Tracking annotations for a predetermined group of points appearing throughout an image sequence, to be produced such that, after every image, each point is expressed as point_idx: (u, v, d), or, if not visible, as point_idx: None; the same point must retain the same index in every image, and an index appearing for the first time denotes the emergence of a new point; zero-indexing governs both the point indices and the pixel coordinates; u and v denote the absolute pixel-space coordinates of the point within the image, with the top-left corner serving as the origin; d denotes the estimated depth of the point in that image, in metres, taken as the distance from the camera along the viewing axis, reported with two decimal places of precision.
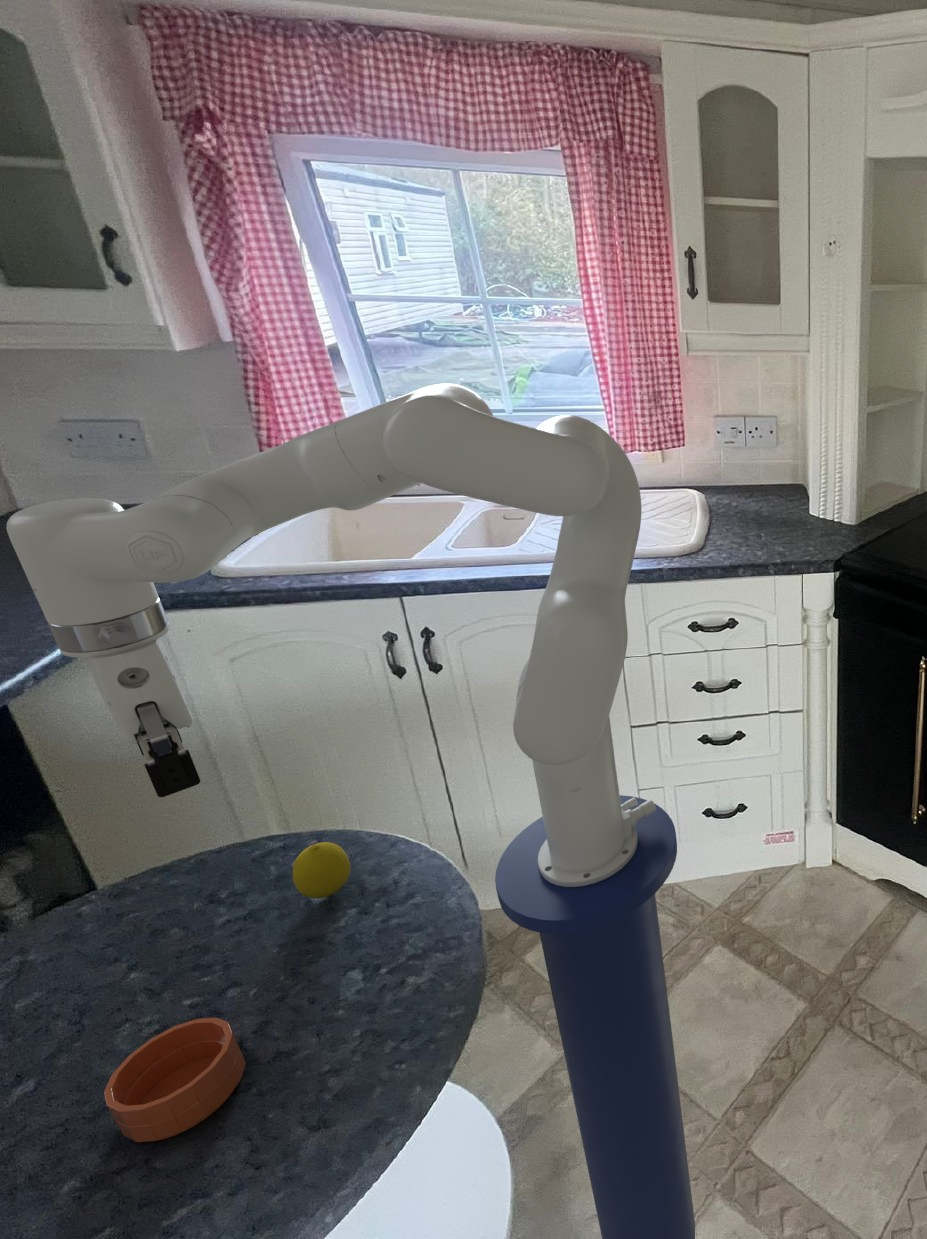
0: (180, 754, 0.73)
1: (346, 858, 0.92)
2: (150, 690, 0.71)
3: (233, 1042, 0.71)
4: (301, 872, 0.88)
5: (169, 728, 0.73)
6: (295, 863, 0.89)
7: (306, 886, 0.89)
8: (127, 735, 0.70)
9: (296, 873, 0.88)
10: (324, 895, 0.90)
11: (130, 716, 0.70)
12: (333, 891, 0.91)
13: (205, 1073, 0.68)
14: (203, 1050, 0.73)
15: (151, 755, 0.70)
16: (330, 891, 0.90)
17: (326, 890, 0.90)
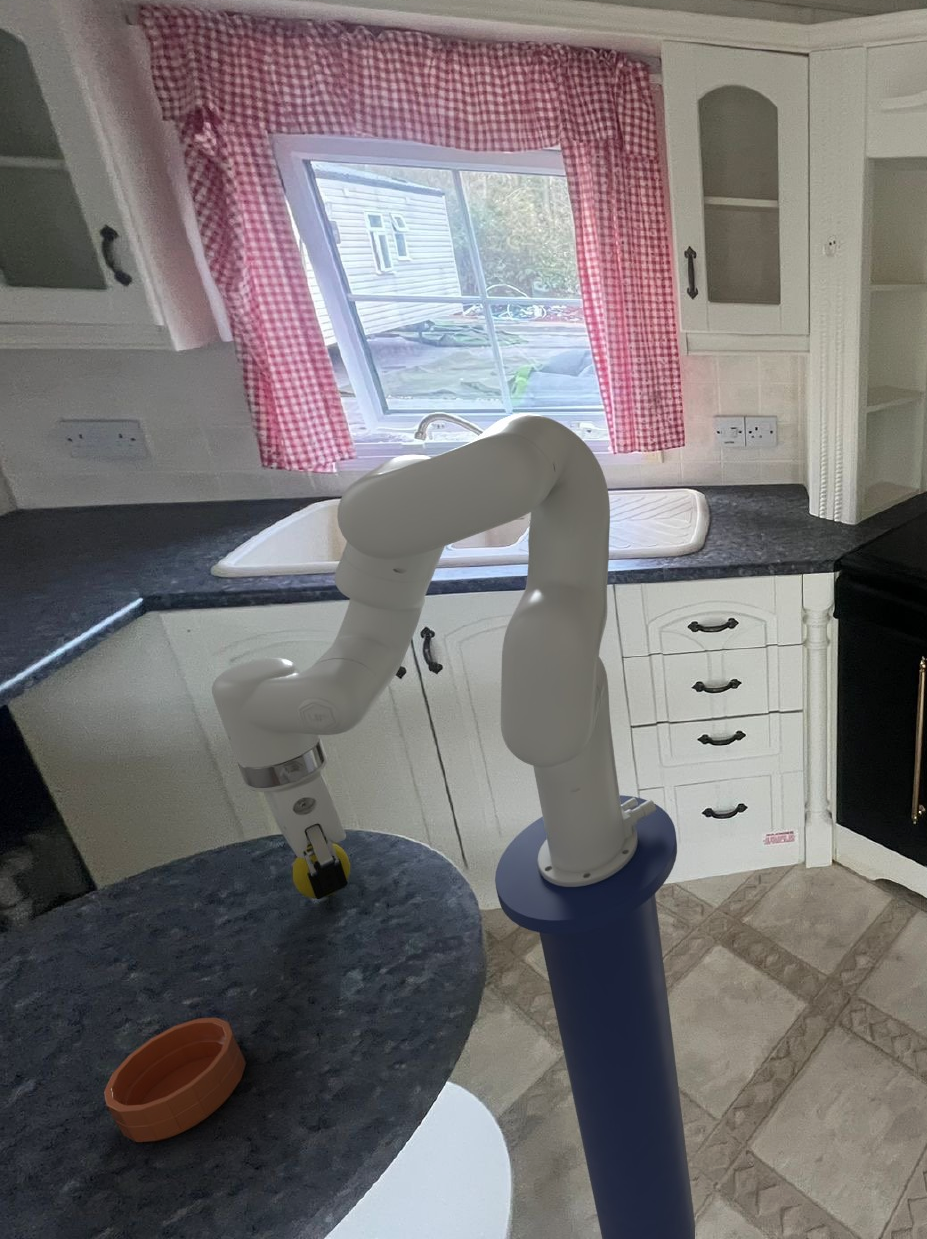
0: (335, 865, 0.88)
1: (346, 858, 0.92)
2: (316, 815, 0.85)
3: (233, 1042, 0.71)
4: (300, 872, 0.88)
5: (327, 844, 0.88)
6: (295, 863, 0.89)
7: (306, 886, 0.89)
8: (298, 852, 0.84)
9: (296, 873, 0.88)
10: None
11: (304, 845, 0.84)
12: None
13: (205, 1073, 0.68)
14: (203, 1050, 0.73)
15: (316, 868, 0.85)
16: None
17: None
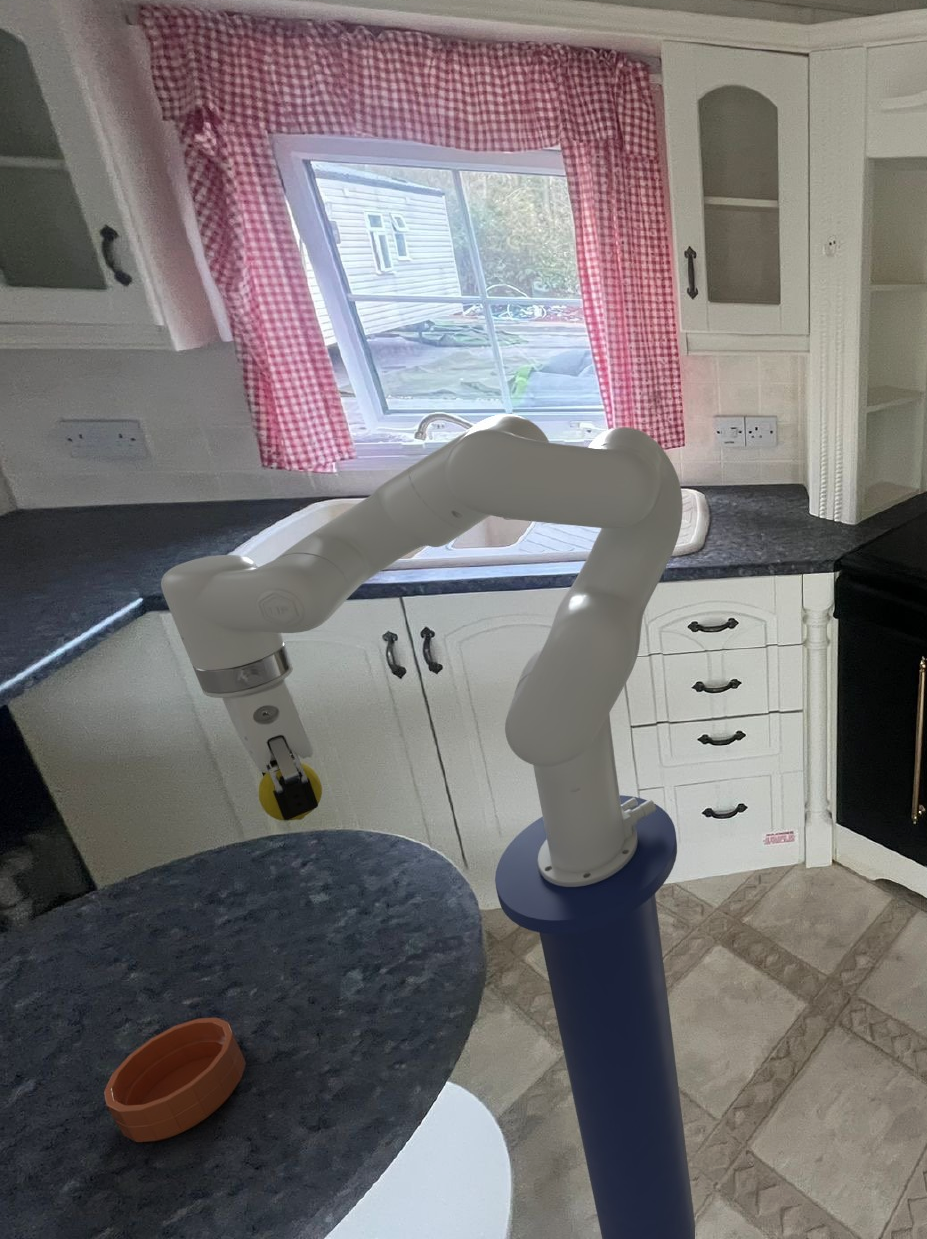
0: (303, 783, 0.82)
1: (317, 779, 0.86)
2: (280, 725, 0.79)
3: (233, 1042, 0.71)
4: (267, 791, 0.82)
5: (294, 760, 0.82)
6: (261, 782, 0.83)
7: (273, 806, 0.83)
8: (260, 766, 0.79)
9: (262, 792, 0.83)
10: None
11: (266, 757, 0.78)
12: (303, 813, 0.85)
13: (205, 1073, 0.68)
14: (203, 1050, 0.73)
15: (281, 784, 0.80)
16: None
17: None
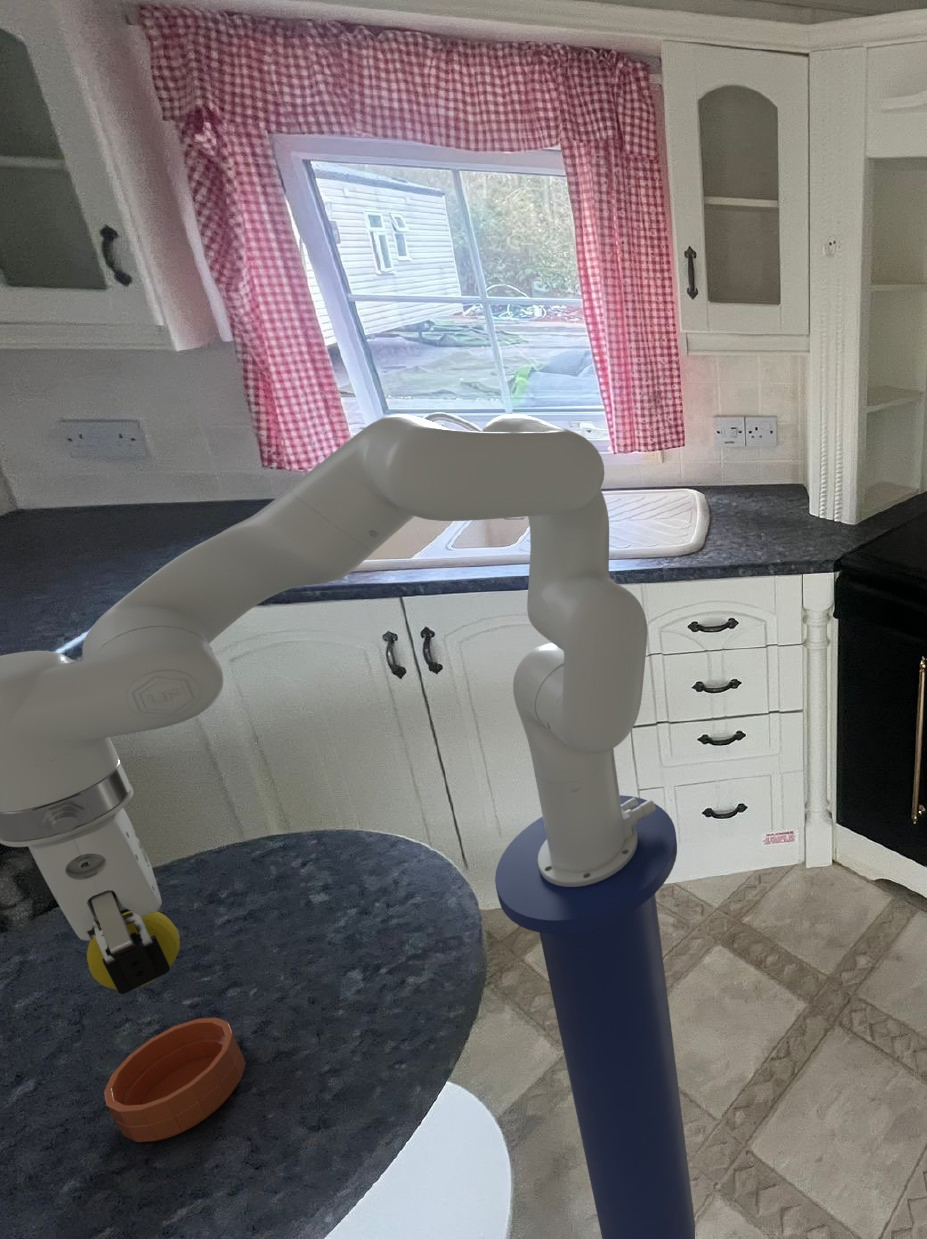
0: (146, 946, 0.62)
1: (171, 931, 0.66)
2: (107, 878, 0.59)
3: (233, 1042, 0.71)
4: (96, 955, 0.62)
5: (133, 917, 0.62)
6: (90, 942, 0.63)
7: (104, 975, 0.62)
8: (79, 933, 0.58)
9: (90, 957, 0.62)
10: None
11: (87, 922, 0.58)
12: None
13: (205, 1073, 0.68)
14: (203, 1050, 0.73)
15: (109, 954, 0.59)
16: None
17: None
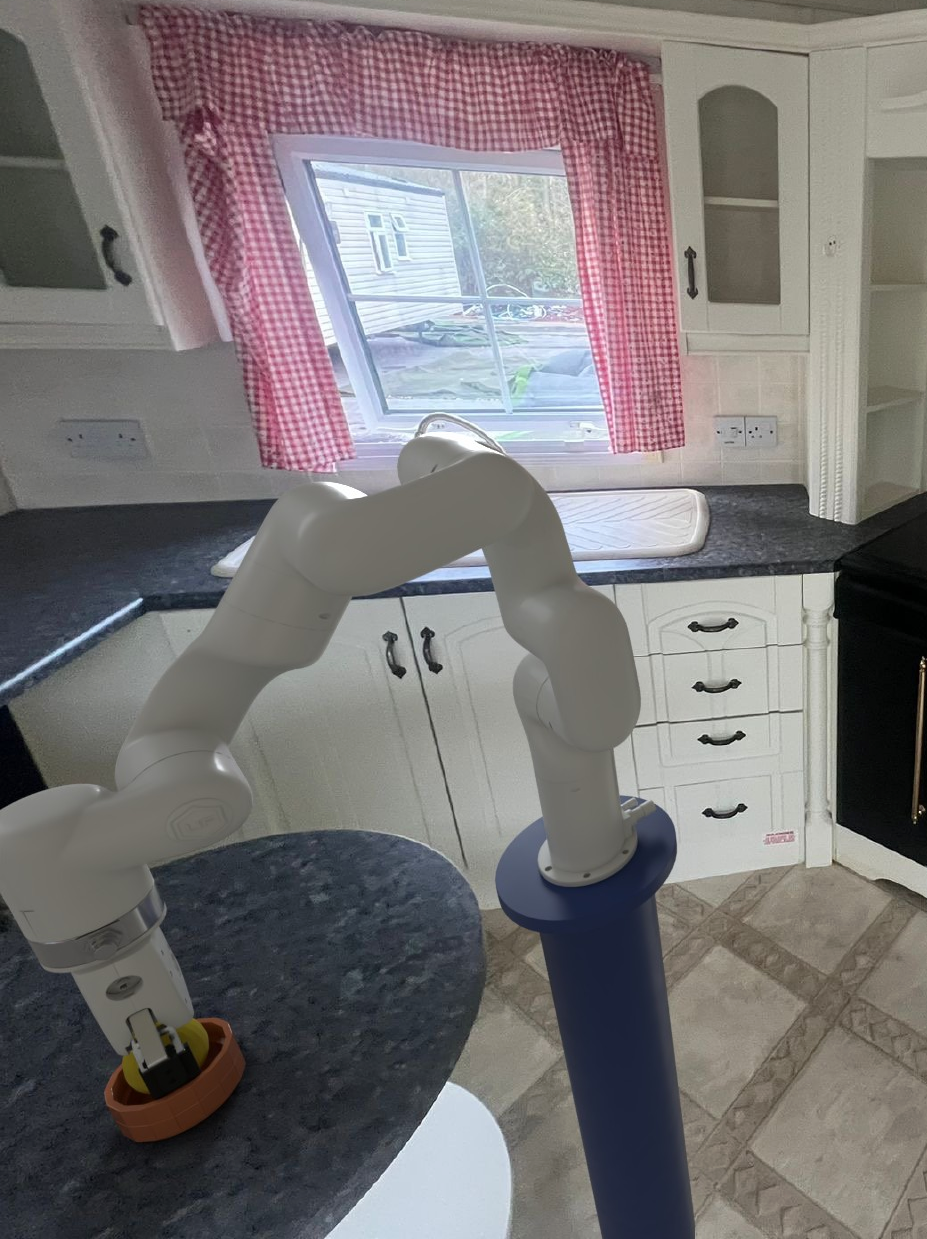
0: (179, 1054, 0.65)
1: (201, 1035, 0.69)
2: (144, 997, 0.62)
3: (233, 1042, 0.71)
4: (131, 1064, 0.65)
5: (167, 1029, 0.65)
6: None
7: (139, 1082, 0.65)
8: (117, 1049, 0.61)
9: (126, 1065, 0.65)
10: None
11: (125, 1039, 0.61)
12: None
13: (205, 1073, 0.68)
14: None
15: (146, 1067, 0.62)
16: None
17: None
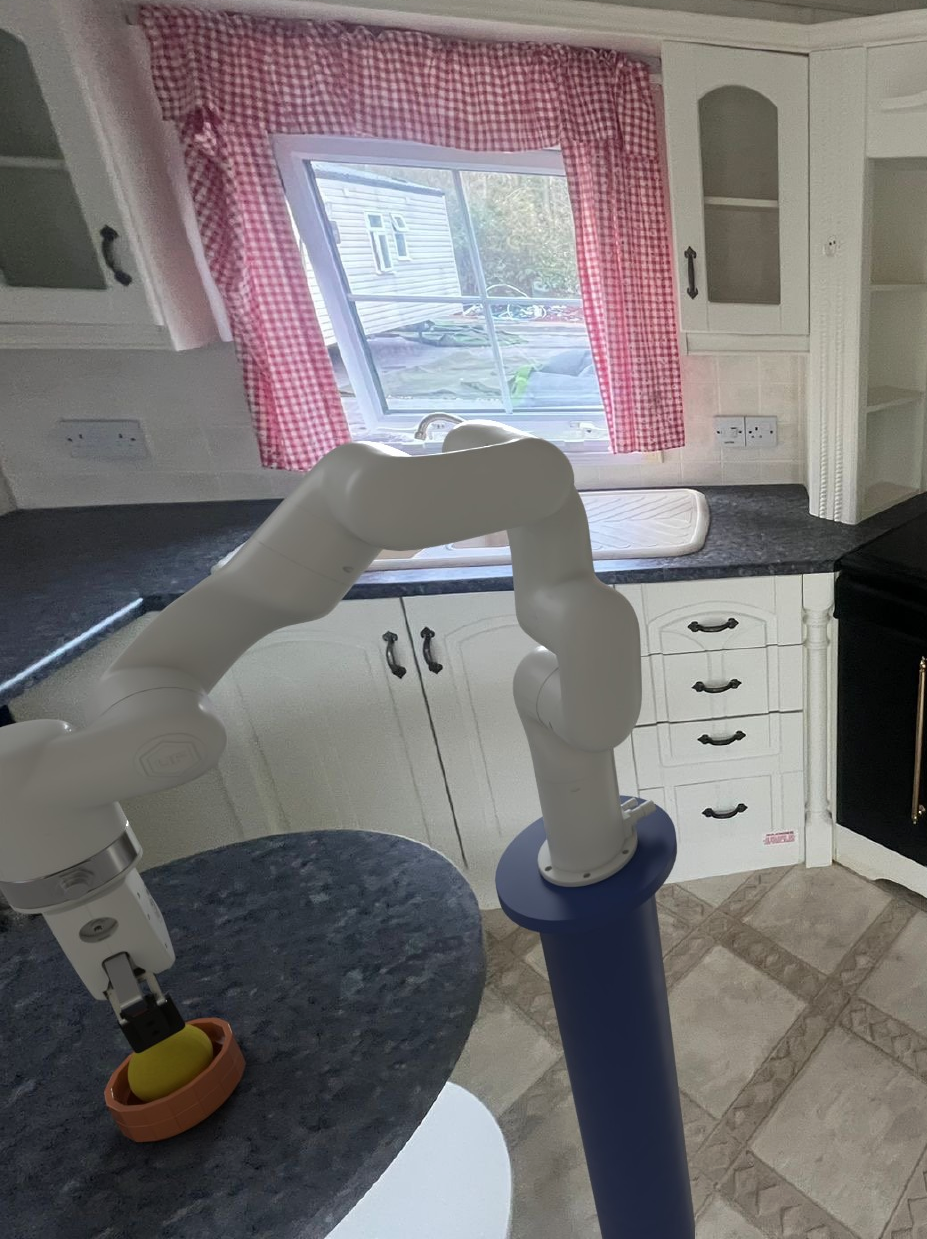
0: (159, 1005, 0.62)
1: (206, 1045, 0.70)
2: (120, 939, 0.59)
3: (233, 1042, 0.71)
4: (137, 1075, 0.66)
5: (145, 974, 0.62)
6: (131, 1061, 0.66)
7: (145, 1092, 0.66)
8: (94, 994, 0.59)
9: (131, 1076, 0.66)
10: None
11: (97, 973, 0.59)
12: None
13: (205, 1073, 0.68)
14: None
15: (123, 1018, 0.59)
16: None
17: None
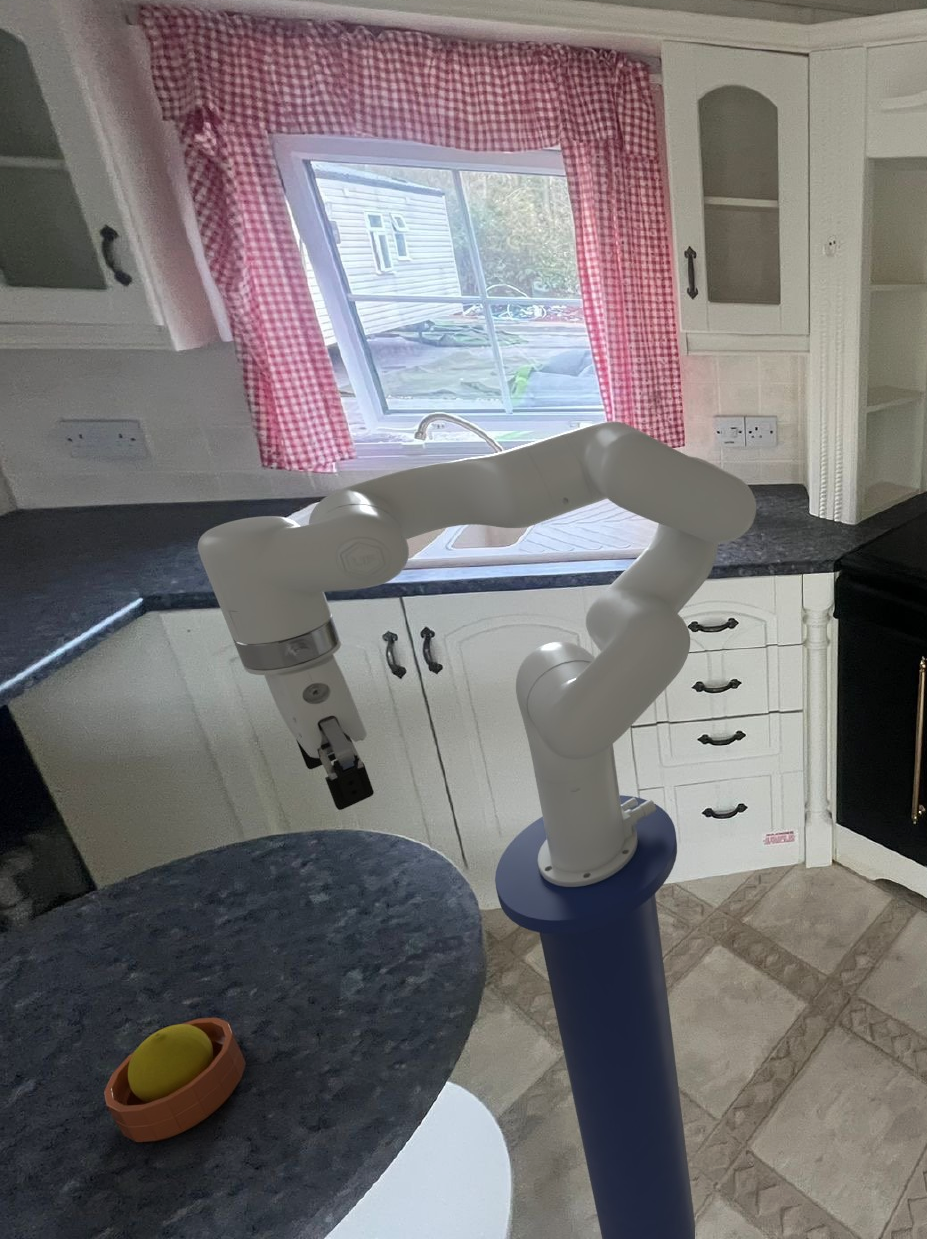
0: (358, 767, 0.73)
1: (206, 1045, 0.70)
2: (331, 705, 0.71)
3: (233, 1042, 0.71)
4: (137, 1074, 0.66)
5: None
6: (131, 1061, 0.66)
7: (145, 1092, 0.66)
8: (311, 750, 0.71)
9: (131, 1075, 0.66)
10: None
11: (314, 731, 0.71)
12: None
13: (205, 1073, 0.68)
14: None
15: (336, 769, 0.71)
16: None
17: None
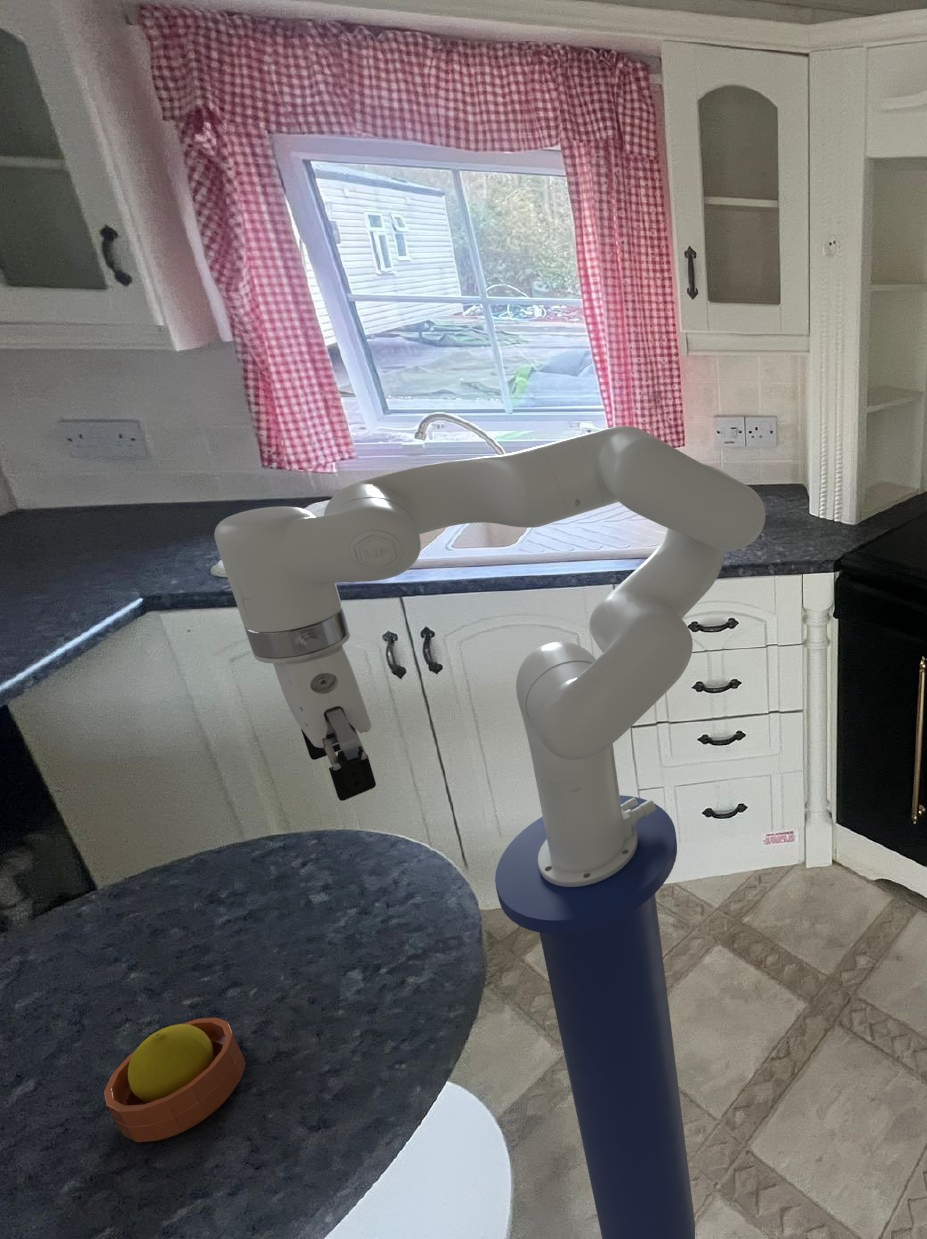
0: (362, 758, 0.74)
1: (206, 1045, 0.70)
2: (338, 695, 0.72)
3: (233, 1042, 0.71)
4: (137, 1074, 0.66)
5: None
6: (131, 1061, 0.66)
7: (145, 1092, 0.66)
8: (316, 740, 0.71)
9: (131, 1075, 0.66)
10: None
11: (320, 721, 0.71)
12: None
13: (205, 1073, 0.68)
14: None
15: (340, 759, 0.71)
16: None
17: None
